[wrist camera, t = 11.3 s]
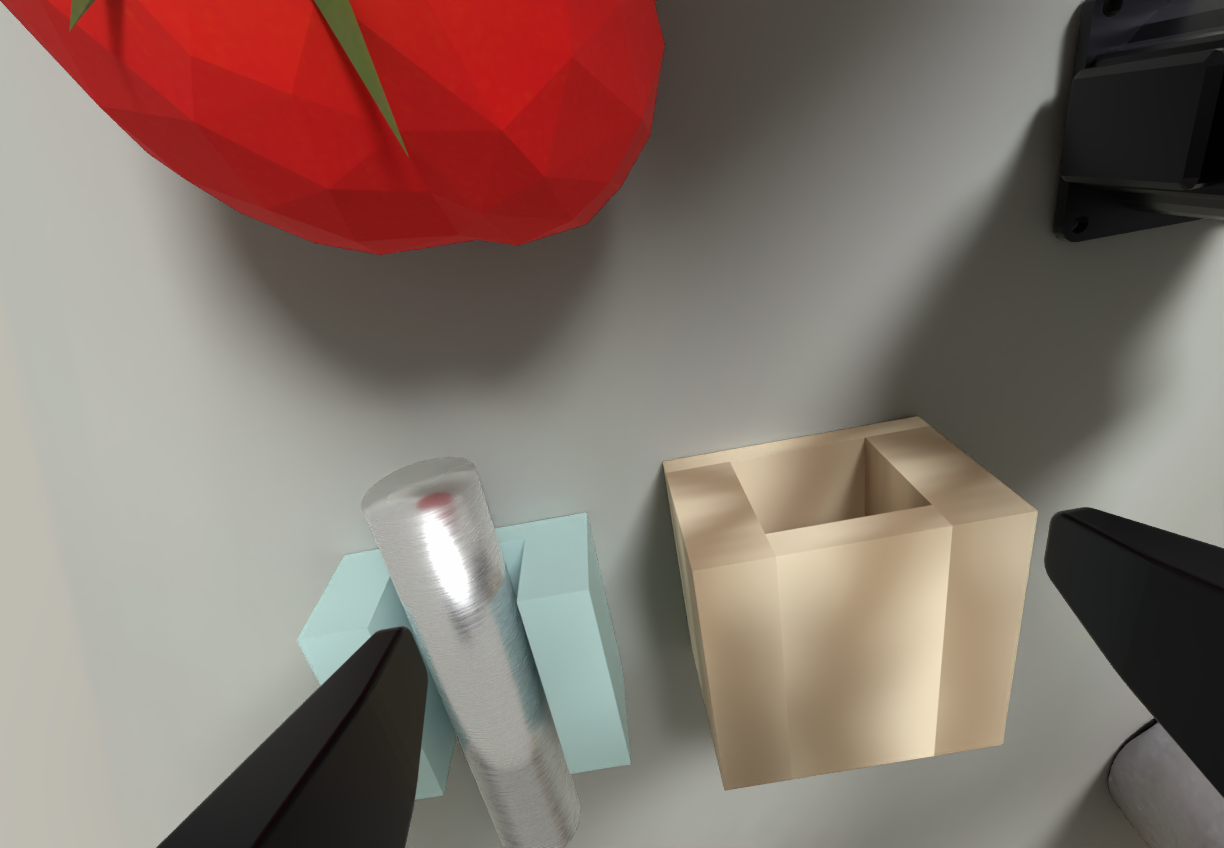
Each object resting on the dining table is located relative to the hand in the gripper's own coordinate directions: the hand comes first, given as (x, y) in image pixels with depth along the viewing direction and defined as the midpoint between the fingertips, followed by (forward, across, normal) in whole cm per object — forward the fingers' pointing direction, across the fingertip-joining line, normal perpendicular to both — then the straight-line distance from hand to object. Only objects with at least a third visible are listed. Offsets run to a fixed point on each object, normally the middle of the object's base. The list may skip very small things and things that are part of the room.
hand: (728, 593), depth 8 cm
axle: (+11, +8, +10) cm, 17 cm away
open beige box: (+12, -4, +9) cm, 16 cm away
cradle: (+12, +8, +10) cm, 17 cm away
